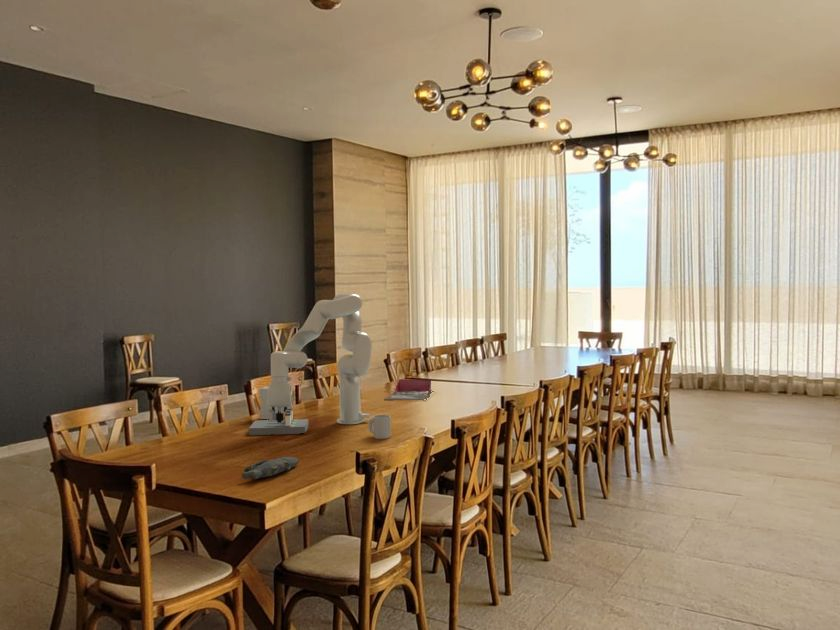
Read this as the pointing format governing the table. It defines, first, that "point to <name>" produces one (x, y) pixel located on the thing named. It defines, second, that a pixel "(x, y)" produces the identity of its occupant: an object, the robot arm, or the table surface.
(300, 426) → the switch panel
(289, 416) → the lever
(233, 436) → the table surface
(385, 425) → the cup
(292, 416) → the back lever
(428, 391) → the open laptop
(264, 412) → the circuit breaker
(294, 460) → the grey rough slab
